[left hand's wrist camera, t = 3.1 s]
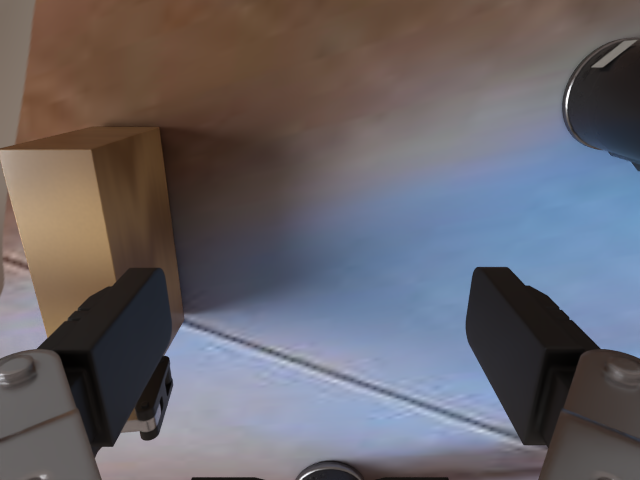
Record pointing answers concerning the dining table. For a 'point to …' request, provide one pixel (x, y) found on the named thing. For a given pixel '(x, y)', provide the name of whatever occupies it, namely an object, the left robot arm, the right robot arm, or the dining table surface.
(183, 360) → the dining table surface
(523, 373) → the left robot arm
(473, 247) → the dining table surface
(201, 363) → the dining table surface
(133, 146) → the box
